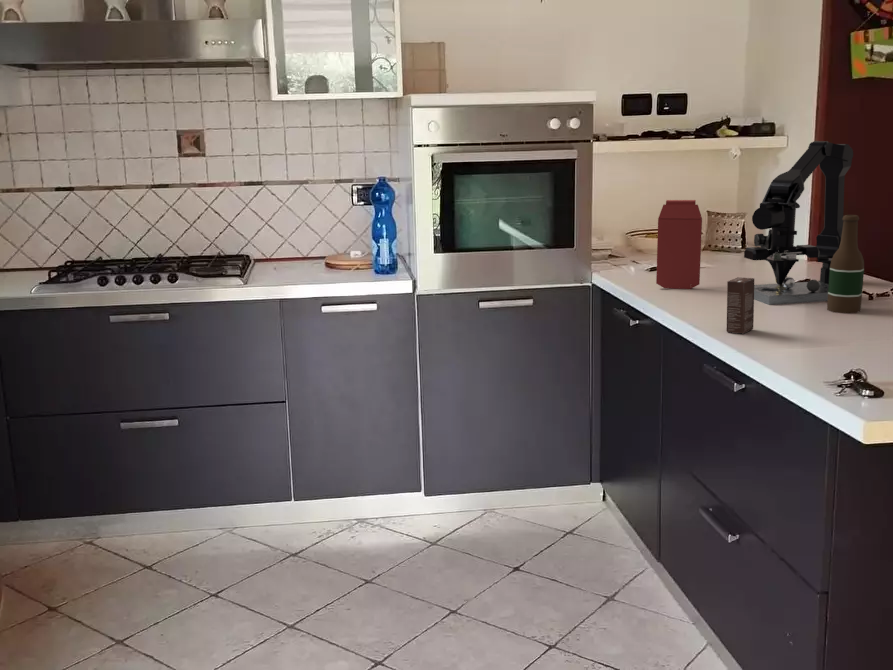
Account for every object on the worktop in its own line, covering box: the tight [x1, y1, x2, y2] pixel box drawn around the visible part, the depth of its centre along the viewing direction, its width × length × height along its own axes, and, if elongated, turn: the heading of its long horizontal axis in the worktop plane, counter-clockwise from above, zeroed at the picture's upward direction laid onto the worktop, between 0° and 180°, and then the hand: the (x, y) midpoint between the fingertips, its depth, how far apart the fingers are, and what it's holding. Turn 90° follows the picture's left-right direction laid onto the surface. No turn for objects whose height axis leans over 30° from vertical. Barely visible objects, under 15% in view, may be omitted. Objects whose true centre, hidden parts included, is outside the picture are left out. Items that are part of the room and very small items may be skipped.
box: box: [726, 276, 755, 335], centre depth 206 cm, size 6×4×12 cm
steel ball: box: [782, 276, 796, 289], centre depth 243 cm, size 3×3×3 cm
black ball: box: [807, 279, 820, 292], centre depth 238 cm, size 3×3×3 cm
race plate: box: [754, 280, 829, 306], centre depth 244 cm, size 23×16×2 cm
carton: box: [655, 199, 703, 290], centre depth 260 cm, size 12×5×25 cm, turn 74°
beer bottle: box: [826, 214, 865, 314], centre depth 222 cm, size 8×8×24 cm
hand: (779, 284), depth 242 cm, fingers closed
